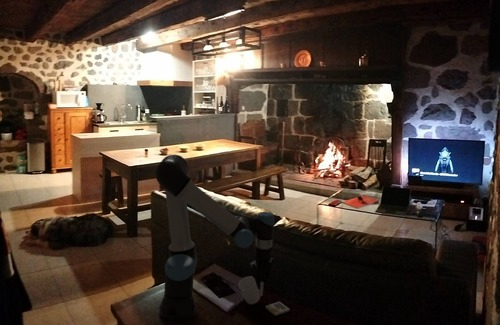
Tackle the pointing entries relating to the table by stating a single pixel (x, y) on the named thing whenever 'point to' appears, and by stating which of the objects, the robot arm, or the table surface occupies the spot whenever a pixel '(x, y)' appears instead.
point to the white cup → (249, 289)
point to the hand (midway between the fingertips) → (259, 294)
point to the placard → (277, 308)
